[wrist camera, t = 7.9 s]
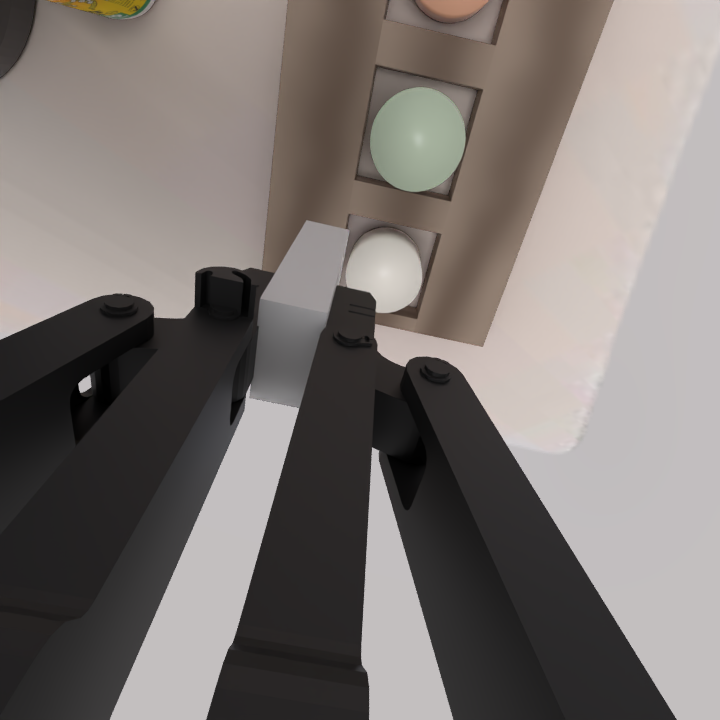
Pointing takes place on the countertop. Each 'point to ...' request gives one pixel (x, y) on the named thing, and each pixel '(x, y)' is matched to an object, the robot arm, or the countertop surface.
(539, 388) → the countertop surface
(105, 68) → the countertop surface
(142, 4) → the supplement bottle
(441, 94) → the sage button
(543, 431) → the countertop surface
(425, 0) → the terracotta button
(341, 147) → the wooden tray
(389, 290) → the cream button
